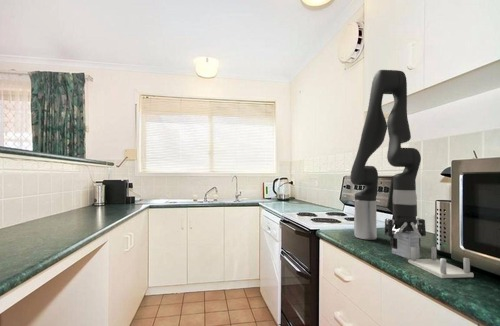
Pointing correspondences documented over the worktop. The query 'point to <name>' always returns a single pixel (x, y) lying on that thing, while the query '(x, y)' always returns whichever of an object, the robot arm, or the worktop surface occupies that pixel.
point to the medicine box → (407, 244)
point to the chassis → (440, 265)
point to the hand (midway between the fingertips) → (405, 248)
